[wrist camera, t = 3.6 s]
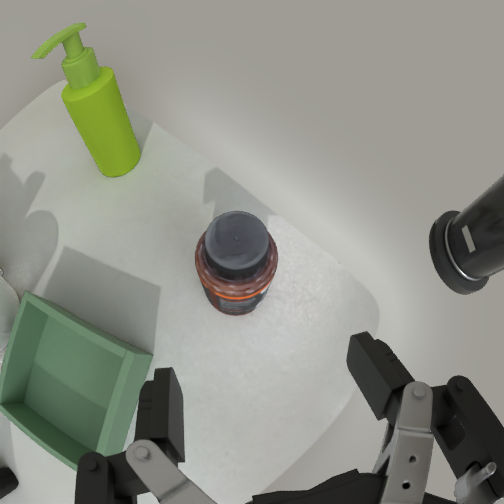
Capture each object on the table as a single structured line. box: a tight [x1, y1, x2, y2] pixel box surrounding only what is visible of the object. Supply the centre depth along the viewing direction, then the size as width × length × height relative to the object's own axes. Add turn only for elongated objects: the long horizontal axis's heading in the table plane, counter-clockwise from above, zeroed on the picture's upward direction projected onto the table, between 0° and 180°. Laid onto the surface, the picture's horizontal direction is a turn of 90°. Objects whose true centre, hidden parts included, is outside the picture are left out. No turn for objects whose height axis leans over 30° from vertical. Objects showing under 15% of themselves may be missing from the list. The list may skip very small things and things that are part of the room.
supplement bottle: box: [195, 211, 278, 316], centre depth 23 cm, size 6×6×11 cm
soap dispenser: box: [31, 23, 140, 177], centre depth 23 cm, size 6×7×20 cm
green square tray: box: [0, 291, 153, 471], centre depth 20 cm, size 14×14×5 cm
